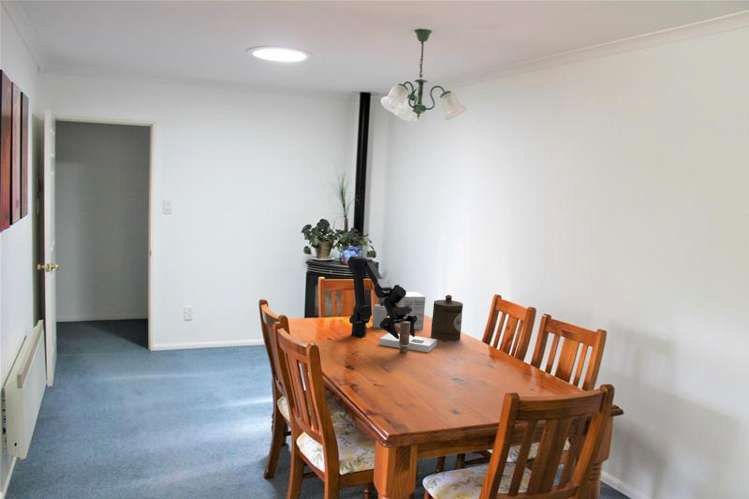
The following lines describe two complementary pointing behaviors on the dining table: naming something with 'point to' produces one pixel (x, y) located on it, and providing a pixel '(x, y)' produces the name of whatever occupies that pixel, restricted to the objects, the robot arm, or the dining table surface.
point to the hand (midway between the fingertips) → (406, 337)
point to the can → (378, 315)
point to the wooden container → (446, 319)
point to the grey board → (410, 342)
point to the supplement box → (414, 307)
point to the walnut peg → (404, 336)
